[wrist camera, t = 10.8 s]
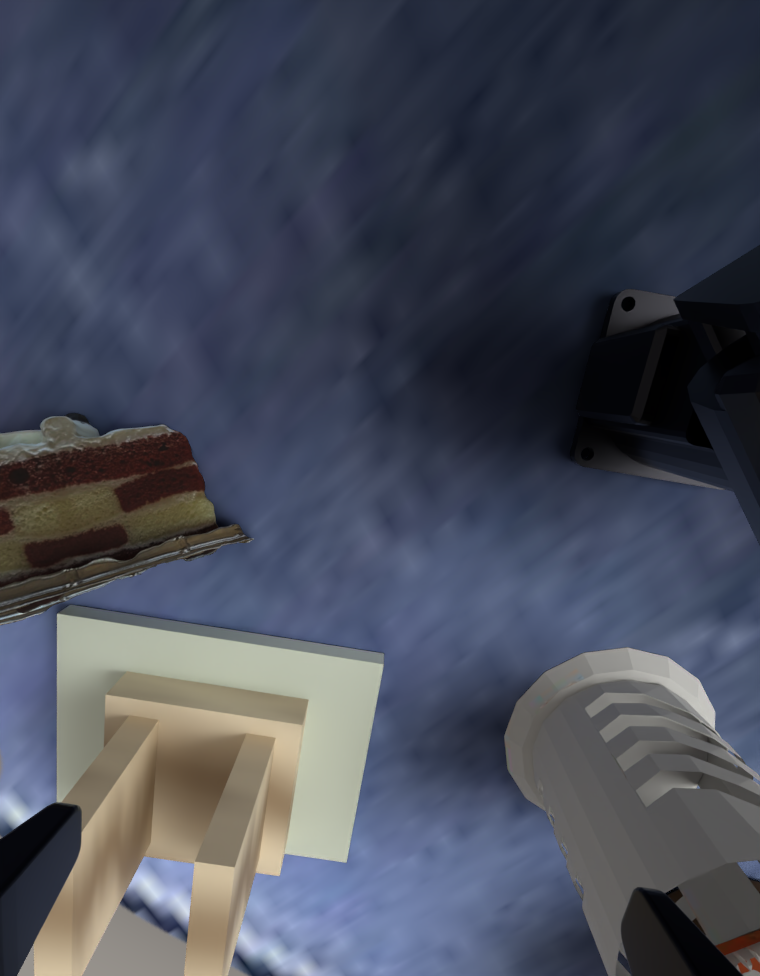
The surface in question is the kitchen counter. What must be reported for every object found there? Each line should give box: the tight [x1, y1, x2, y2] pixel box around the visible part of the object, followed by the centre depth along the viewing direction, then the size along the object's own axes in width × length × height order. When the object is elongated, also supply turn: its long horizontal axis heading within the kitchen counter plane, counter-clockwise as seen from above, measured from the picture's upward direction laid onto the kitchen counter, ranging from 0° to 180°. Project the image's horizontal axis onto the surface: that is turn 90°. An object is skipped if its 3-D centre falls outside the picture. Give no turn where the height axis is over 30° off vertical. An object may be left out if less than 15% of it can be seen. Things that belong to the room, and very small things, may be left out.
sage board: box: [57, 605, 384, 863], centre depth 20 cm, size 14×11×1 cm
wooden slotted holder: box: [34, 671, 309, 976], centre depth 17 cm, size 8×8×6 cm
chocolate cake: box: [0, 413, 254, 625], centre depth 17 cm, size 10×7×12 cm
